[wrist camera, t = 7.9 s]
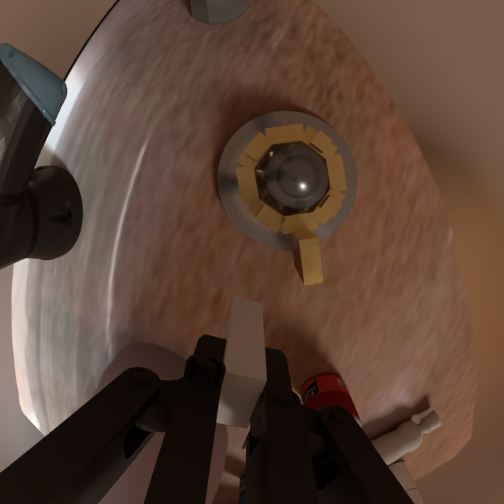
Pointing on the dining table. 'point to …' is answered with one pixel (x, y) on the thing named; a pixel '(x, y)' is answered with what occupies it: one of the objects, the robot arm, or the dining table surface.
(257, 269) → the dining table surface
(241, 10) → the coffeepot
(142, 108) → the dining table surface
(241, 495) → the soda can
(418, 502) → the cylindrical container
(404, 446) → the bottle
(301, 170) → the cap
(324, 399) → the canned food
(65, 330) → the dining table surface
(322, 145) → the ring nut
